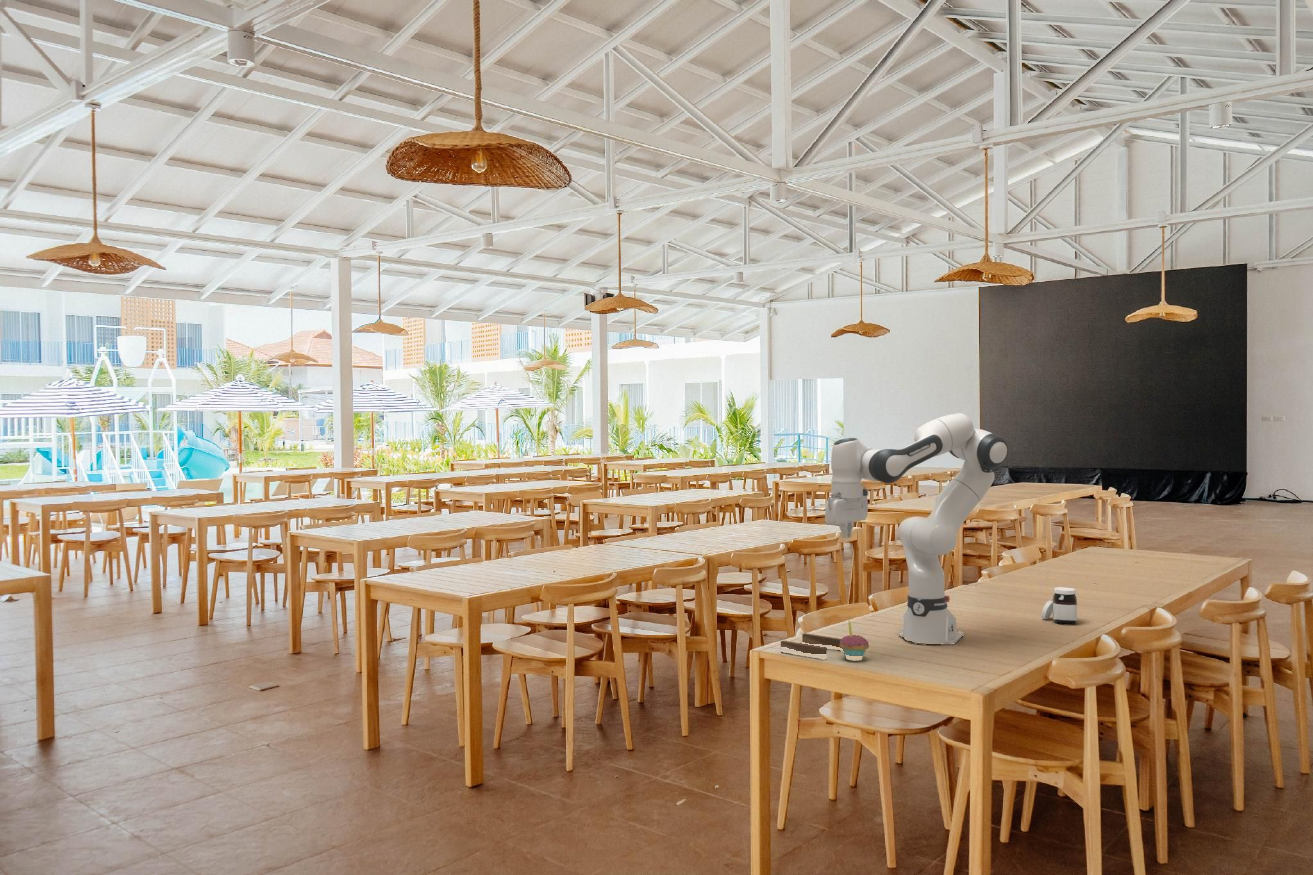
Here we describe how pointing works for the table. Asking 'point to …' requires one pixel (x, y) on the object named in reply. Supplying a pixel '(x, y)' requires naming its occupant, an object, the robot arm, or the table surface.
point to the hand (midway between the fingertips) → (846, 537)
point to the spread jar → (1062, 606)
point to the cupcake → (853, 644)
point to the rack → (812, 640)
